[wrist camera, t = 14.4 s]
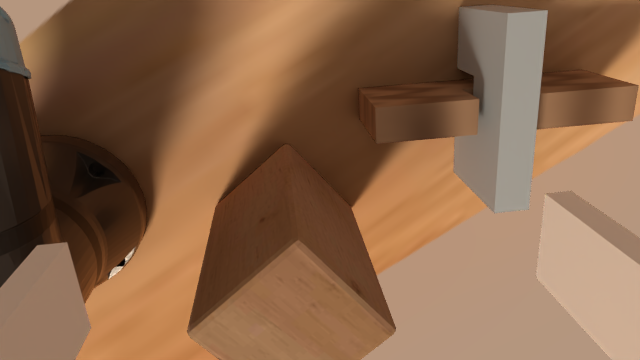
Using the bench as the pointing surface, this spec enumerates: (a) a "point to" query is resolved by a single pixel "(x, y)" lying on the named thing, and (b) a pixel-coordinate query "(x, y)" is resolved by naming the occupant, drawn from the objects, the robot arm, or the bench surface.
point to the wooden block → (287, 272)
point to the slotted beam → (463, 108)
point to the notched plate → (501, 101)
